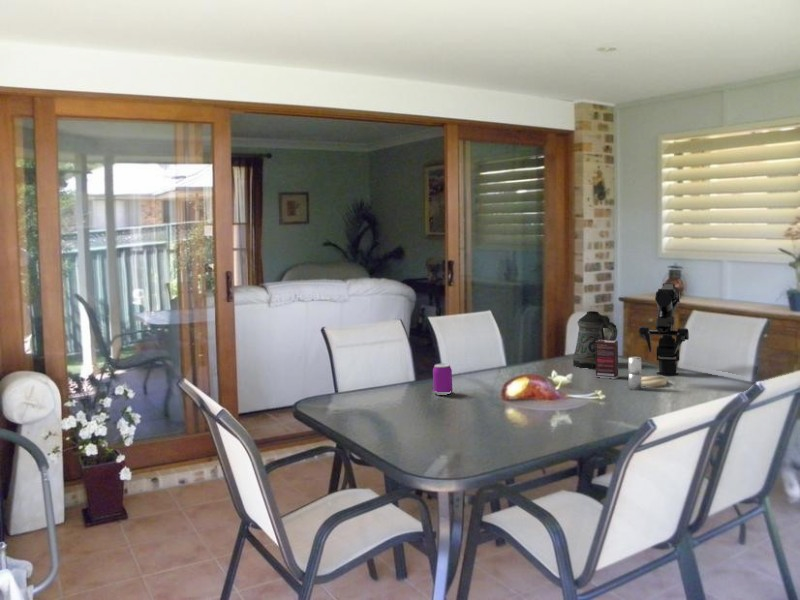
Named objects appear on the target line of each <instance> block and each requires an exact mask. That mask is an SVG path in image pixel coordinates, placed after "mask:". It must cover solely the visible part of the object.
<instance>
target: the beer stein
mask: <svg viewBox="0 0 800 600" xmlns="http://www.w3.org/2000/svg"><path fill="white" fill-rule="evenodd" d="M577 326H578V333H577V340H576V346H575V350H574V353H573V356H572V366H573V367H575V366H576V367H575V368H577V367H579V369H582V368H589V369H588V370H596V352H595V341H597V340H606V339H605V332H604V331H605V329H609V330H610V331H611V336H610V338H609V340H611V341H617V338H618V328H617V325H616V324H614V322H612V321H610V318H609V317H608V316H607V315H602V314H601V313H599V311H594V310H593V311H591V310H589V311H587V312H586V314H584V315H582V316H581V317H580V318H579V319H578V321H577Z"/></svg>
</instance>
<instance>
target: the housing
mask: <svg viewBox="0 0 800 600" xmlns="http://www.w3.org/2000/svg"><path fill="white" fill-rule="evenodd" d="M627 364H628V365H627V366H628V367H627V369H628V370H627V371H628V373H627V374H628V375H627V377H628V378H627V379H628V381H627V382H628V383H627V384H628V387H627V389H628V388H629V389H628V390H630V389H632V390H631V391H640V390H639V389H641V390H642V386H641V376H642V357H640V356H629V357H628V358H627Z"/></svg>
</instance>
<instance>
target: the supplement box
mask: <svg viewBox="0 0 800 600" xmlns="http://www.w3.org/2000/svg"><path fill="white" fill-rule="evenodd" d="M618 341H619V340H615V341H611V340H610V339H605V340H597V341H595V352H596V369H595V378H596V377H600V378H599V379H609V378H611V379H613V380H615V379H618V378H619V345H618V344H619V342H618Z"/></svg>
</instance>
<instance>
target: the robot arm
mask: <svg viewBox="0 0 800 600" xmlns="http://www.w3.org/2000/svg"><path fill="white" fill-rule="evenodd" d="M680 293H681V292H680V289H679V288H678V287H676V283H674V282H669V283H668V282H663V283H662V287H661V288H657V291H656V292H655V297H654V299H655V302H656V306H657V317H656V318H655V329H651V328H650V326H640V327H639V328H638V335H639V337H640V338H642V340H645V341H646V344H647V347H648V350H649V353H652V339H651V335H652V336H662V337H660V338H659V339H658V346H656V361H659V362H658V371H657V372H656V374H657V375H662V376H667V377H670V376H676V375H679V372H677V363H676V362H678V361H680V350H679V347H680V346H681V344H682V343H683V342H686V341H688V340H689V339H690V332H689V328H687V327H683V328H682V327H678V328H677V330H674V326H675V324H676V323H675V319H676V317H675V311H676V310H678V308H679V303H680V300H681V294H680ZM674 336H675V338H674Z"/></svg>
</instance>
